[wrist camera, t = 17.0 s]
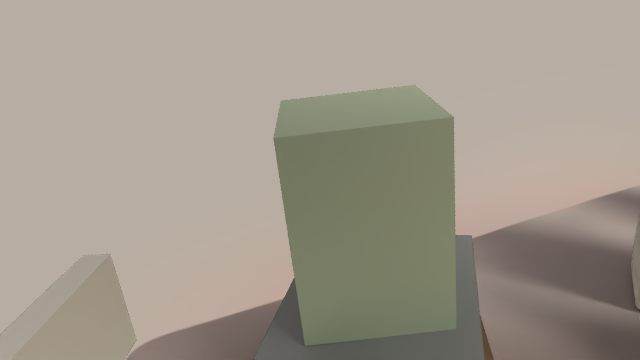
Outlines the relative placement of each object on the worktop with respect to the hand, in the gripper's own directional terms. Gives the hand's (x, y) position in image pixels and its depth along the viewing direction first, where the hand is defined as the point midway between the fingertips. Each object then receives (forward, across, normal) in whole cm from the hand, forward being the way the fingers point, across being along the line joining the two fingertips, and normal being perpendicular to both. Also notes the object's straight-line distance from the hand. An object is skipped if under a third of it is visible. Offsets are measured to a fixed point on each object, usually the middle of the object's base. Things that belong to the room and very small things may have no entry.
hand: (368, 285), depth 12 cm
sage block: (+12, 0, -8) cm, 14 cm away
